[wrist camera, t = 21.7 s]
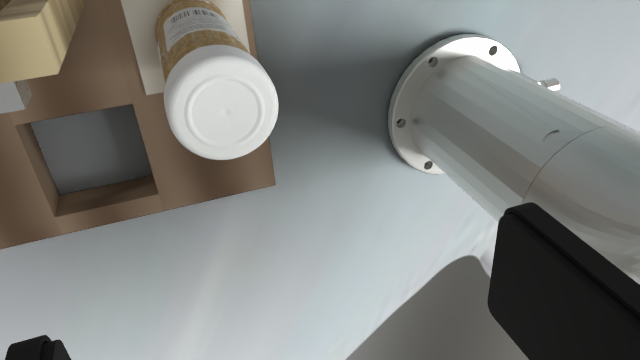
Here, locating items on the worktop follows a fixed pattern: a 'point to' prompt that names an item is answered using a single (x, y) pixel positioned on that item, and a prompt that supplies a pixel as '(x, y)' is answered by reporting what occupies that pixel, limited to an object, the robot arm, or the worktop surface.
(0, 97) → the bolt
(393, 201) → the worktop surface
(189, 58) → the sprinkles bottle
